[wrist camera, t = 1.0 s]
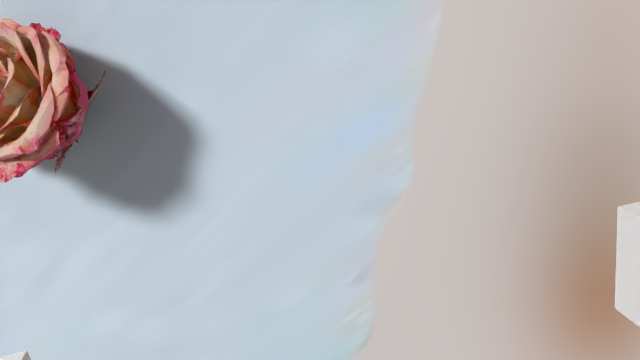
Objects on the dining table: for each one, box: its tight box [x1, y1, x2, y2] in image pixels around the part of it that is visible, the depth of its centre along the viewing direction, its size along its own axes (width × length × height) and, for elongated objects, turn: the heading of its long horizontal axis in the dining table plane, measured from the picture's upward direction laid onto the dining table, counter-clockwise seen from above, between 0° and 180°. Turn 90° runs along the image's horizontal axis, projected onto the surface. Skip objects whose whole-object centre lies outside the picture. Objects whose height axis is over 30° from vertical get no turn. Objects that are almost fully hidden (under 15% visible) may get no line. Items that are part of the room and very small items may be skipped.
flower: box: [0, 19, 110, 182], centre depth 30 cm, size 10×9×8 cm
